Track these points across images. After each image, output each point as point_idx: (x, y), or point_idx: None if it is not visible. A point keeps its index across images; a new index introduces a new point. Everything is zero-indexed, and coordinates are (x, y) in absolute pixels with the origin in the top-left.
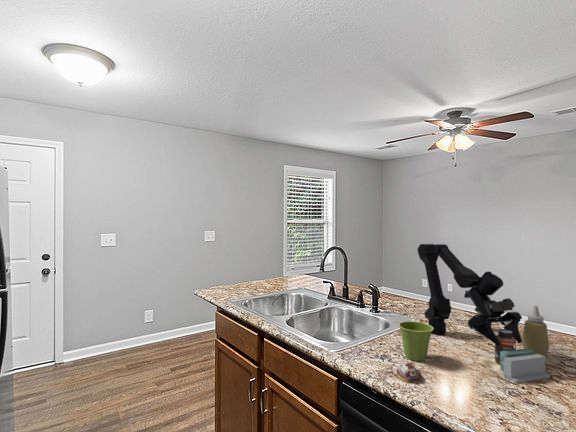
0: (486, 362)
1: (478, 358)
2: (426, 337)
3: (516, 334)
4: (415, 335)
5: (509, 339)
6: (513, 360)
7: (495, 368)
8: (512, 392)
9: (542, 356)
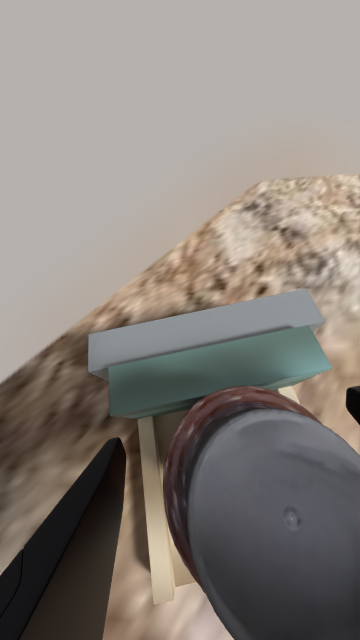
0: None
1: None
2: None
3: (92, 521)
4: None
5: (259, 402)
6: (288, 295)
7: None
8: (310, 267)
9: (100, 336)
